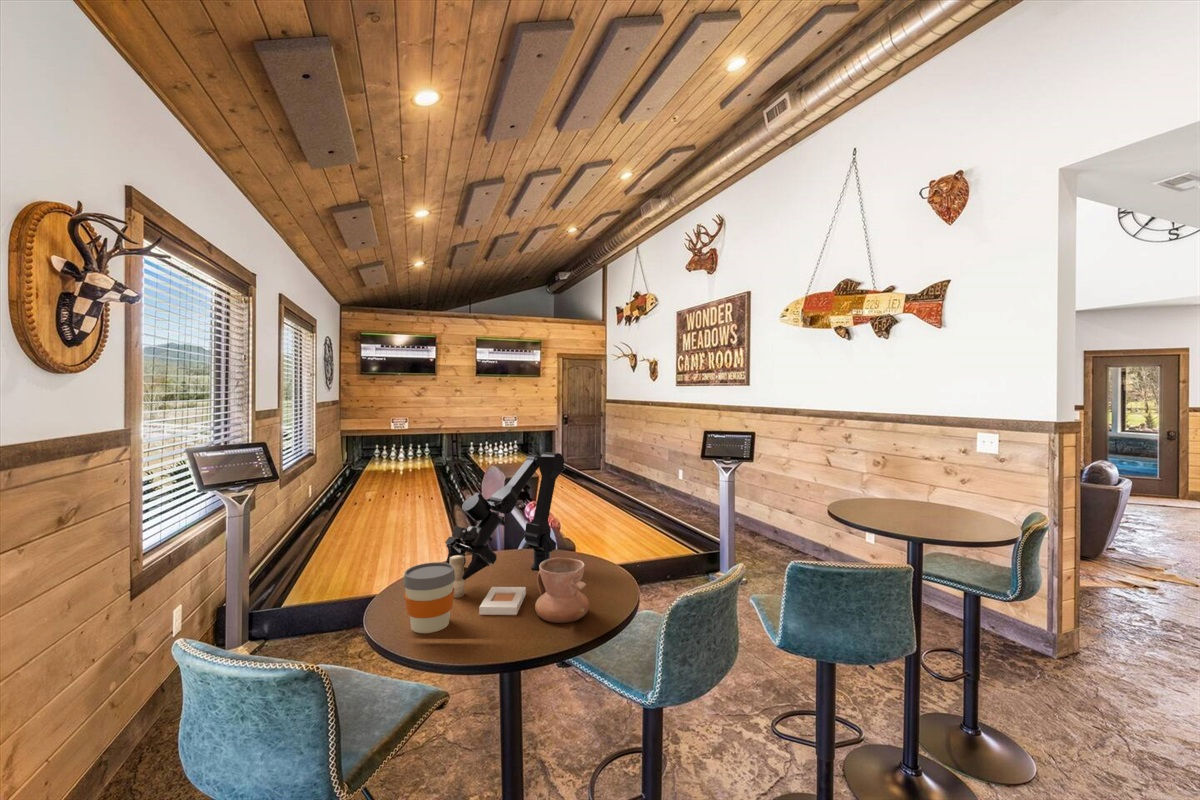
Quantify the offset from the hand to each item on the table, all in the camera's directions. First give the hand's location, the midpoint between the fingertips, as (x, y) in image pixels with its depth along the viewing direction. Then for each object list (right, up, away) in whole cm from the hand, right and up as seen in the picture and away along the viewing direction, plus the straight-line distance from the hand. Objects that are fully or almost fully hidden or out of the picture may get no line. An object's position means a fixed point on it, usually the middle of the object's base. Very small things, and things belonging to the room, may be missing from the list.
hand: (453, 575), depth 150 cm
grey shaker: (-6, -7, +20) cm, 22 cm away
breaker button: (+15, -6, -6) cm, 18 cm away
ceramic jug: (+32, -7, -11) cm, 35 cm away
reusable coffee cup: (-1, -8, -18) cm, 20 cm away
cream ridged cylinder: (+1, -7, +1) cm, 7 cm away
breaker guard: (+15, -7, -6) cm, 18 cm away
